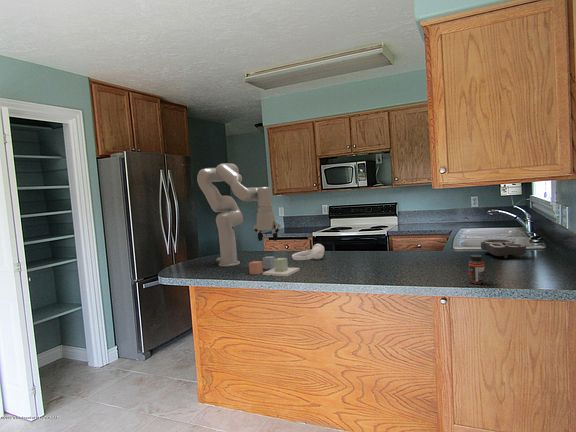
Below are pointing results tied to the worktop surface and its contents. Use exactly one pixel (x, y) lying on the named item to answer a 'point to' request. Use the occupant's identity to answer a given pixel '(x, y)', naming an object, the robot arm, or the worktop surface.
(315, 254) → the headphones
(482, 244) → the motorcycle dashboard
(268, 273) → the plate
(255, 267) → the brick top
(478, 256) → the supplement bottle
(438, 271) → the worktop surface
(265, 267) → the brick mid
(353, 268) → the worktop surface
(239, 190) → the robot arm
